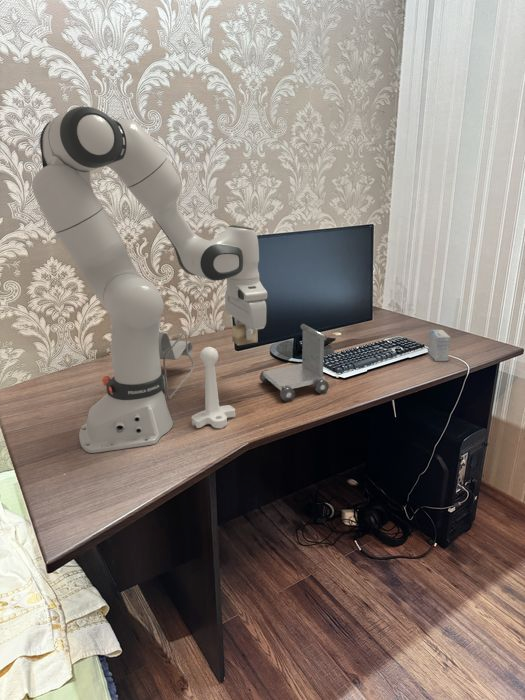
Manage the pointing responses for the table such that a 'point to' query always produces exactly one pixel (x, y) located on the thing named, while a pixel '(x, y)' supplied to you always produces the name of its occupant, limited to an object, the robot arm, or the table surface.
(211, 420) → the joystick
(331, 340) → the microphone
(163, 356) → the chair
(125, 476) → the table surface
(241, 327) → the chock
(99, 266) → the robot arm
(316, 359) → the cart
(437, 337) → the medicine box
